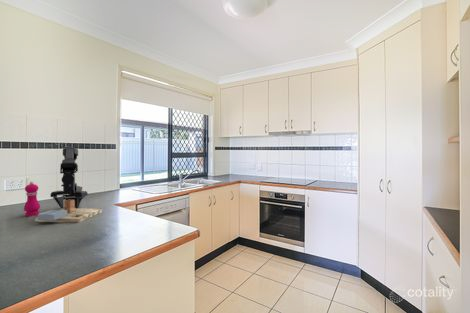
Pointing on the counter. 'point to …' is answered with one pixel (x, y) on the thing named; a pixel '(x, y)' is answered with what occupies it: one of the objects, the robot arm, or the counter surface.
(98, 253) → the counter surface
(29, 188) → the pepper mill
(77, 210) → the pin board
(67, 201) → the pin
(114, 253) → the counter surface
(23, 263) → the counter surface
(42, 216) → the block
